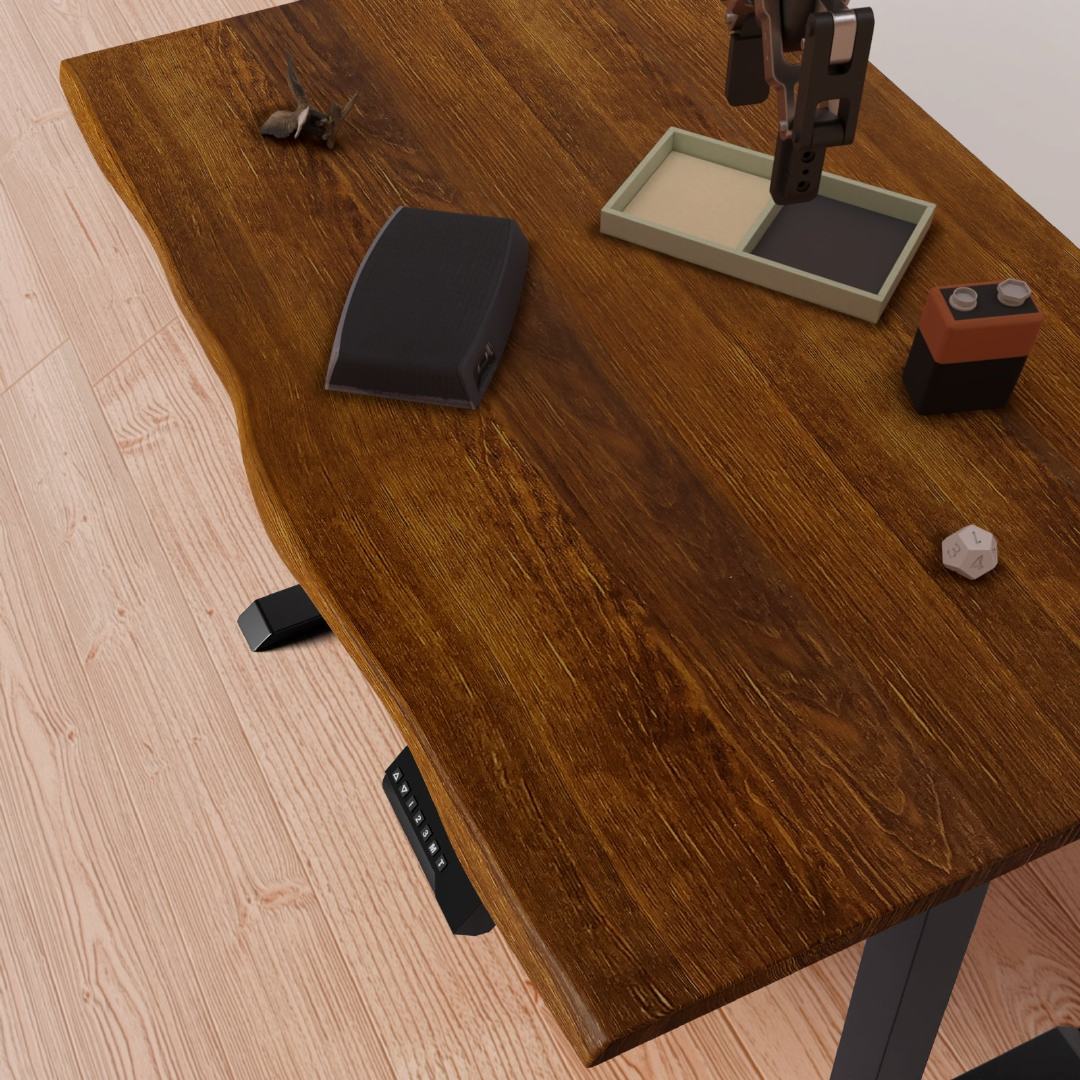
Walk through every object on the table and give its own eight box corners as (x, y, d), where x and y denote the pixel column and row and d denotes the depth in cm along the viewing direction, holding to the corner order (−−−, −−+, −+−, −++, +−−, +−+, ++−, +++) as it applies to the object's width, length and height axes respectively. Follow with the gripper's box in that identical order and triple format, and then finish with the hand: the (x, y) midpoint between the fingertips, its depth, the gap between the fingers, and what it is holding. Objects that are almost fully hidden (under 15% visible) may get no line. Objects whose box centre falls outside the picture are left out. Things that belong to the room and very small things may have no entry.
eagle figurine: (374, 114, 107) (302, 67, 109) (346, 77, 100) (268, 28, 102) (328, 183, 108) (256, 135, 110) (296, 151, 101) (220, 101, 103)
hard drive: (315, 393, 87) (305, 353, 84) (387, 232, 98) (381, 191, 95) (485, 417, 85) (482, 377, 82) (538, 250, 97) (537, 209, 93)
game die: (983, 543, 77) (997, 515, 75) (997, 589, 75) (1011, 561, 73) (930, 544, 78) (942, 516, 75) (942, 589, 75) (954, 562, 73)
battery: (1006, 412, 85) (1053, 307, 77) (916, 421, 84) (953, 316, 76) (985, 370, 87) (1028, 264, 79) (897, 379, 87) (931, 273, 79)
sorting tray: (928, 232, 98) (937, 204, 95) (874, 329, 90) (882, 301, 88) (668, 153, 105) (671, 125, 103) (599, 237, 98) (600, 210, 95)
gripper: (980, -143, 42) (887, 226, 55) (853, -286, 50) (798, 63, 63) (776, -122, 41) (731, 247, 54) (684, -269, 50) (663, 79, 63)
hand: (767, 148), depth 59 cm, fingers open, 8 cm apart
